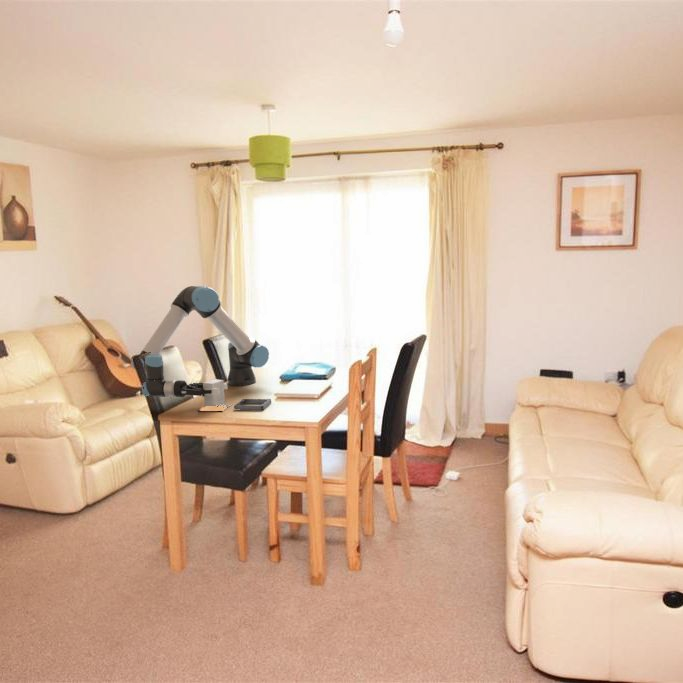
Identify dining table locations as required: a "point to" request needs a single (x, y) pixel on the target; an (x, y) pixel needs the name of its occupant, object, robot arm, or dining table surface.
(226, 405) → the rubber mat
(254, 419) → the dining table surface
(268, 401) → the holding frame
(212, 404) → the small box
